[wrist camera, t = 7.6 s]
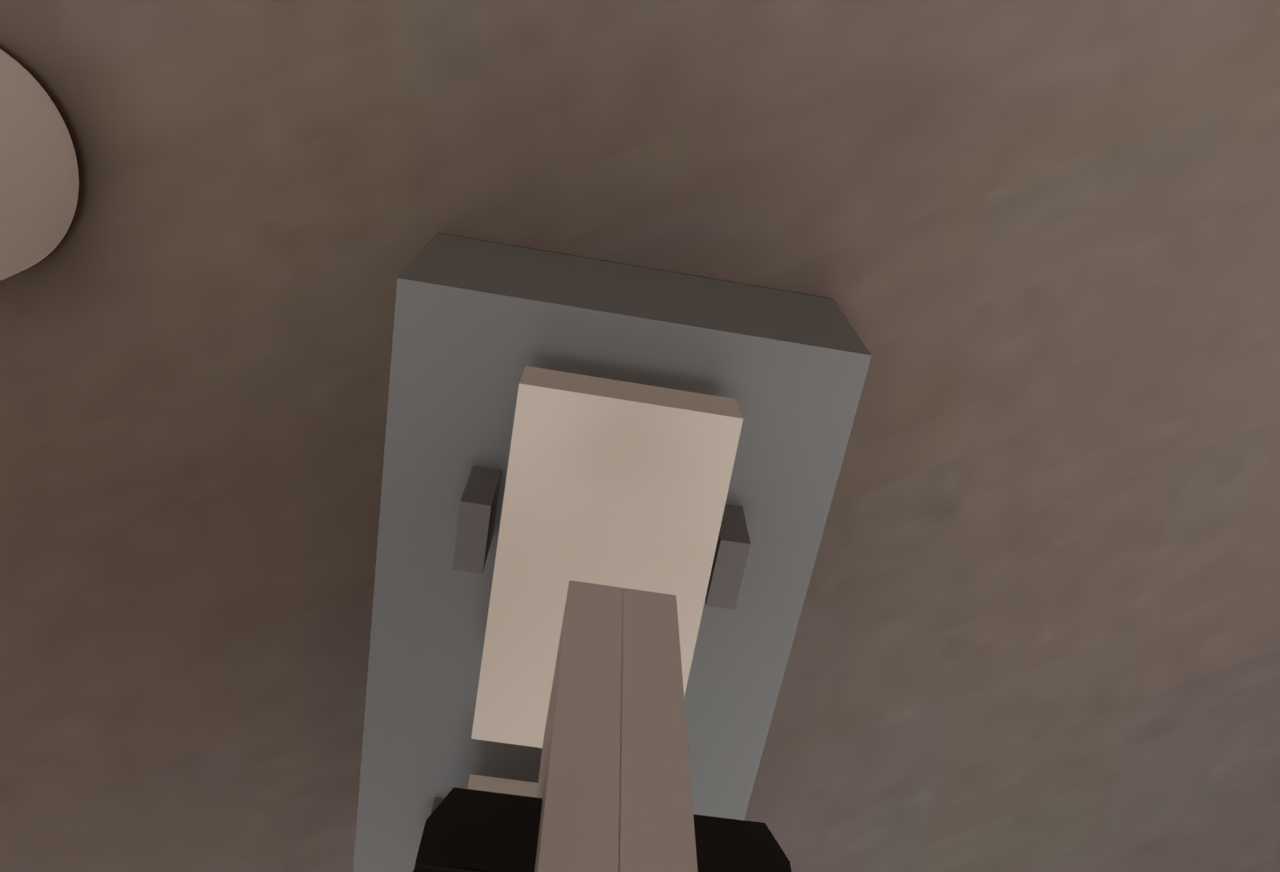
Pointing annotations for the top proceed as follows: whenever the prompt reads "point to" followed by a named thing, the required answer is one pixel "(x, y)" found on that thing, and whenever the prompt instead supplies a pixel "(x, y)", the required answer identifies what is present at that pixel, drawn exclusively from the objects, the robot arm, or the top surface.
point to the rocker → (597, 523)
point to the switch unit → (475, 483)
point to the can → (32, 171)
